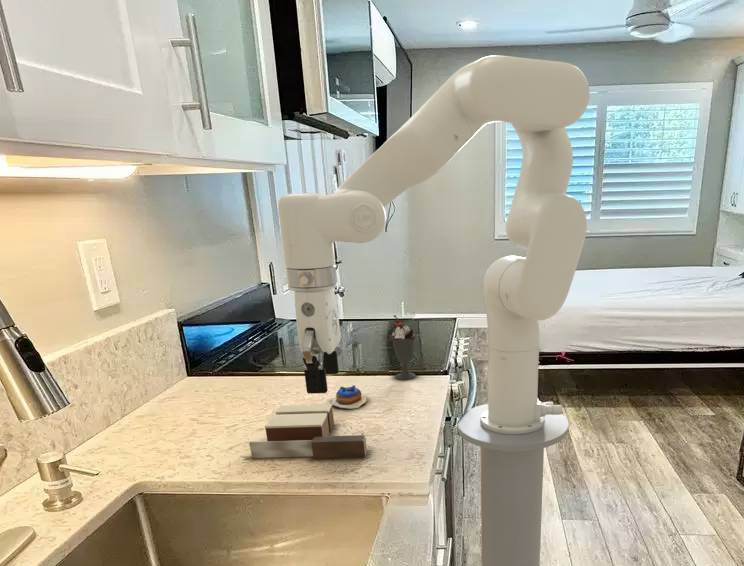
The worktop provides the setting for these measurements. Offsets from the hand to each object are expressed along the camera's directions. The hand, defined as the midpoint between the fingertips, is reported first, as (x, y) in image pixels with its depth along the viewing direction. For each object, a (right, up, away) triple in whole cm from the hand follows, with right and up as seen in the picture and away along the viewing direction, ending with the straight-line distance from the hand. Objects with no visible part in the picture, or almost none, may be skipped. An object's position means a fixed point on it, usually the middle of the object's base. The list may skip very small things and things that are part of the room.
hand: (323, 382), depth 95 cm
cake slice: (-7, -8, +16) cm, 19 cm away
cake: (-7, -11, +10) cm, 16 cm away
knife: (-4, -13, +5) cm, 14 cm away
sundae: (+10, +4, +44) cm, 46 cm away
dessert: (-1, -3, +29) cm, 29 cm away
